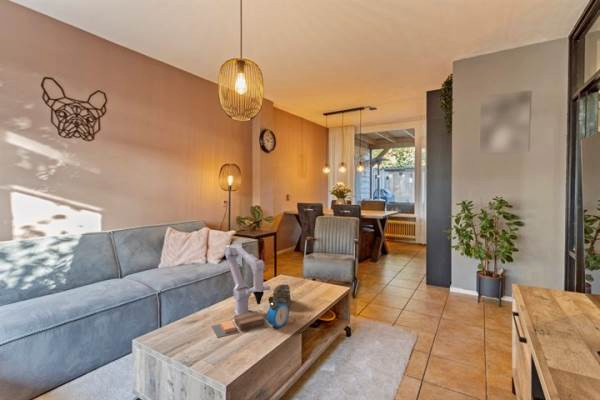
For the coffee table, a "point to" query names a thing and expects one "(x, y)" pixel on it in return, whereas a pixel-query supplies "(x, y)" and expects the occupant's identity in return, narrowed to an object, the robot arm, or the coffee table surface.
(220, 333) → the mat
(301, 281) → the coffee table surface
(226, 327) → the peach rectangular block
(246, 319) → the tan flat block
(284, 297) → the rock
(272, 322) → the alarm clock
